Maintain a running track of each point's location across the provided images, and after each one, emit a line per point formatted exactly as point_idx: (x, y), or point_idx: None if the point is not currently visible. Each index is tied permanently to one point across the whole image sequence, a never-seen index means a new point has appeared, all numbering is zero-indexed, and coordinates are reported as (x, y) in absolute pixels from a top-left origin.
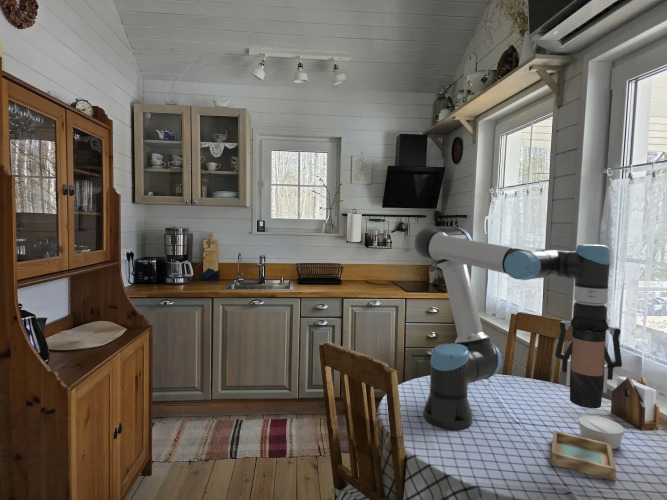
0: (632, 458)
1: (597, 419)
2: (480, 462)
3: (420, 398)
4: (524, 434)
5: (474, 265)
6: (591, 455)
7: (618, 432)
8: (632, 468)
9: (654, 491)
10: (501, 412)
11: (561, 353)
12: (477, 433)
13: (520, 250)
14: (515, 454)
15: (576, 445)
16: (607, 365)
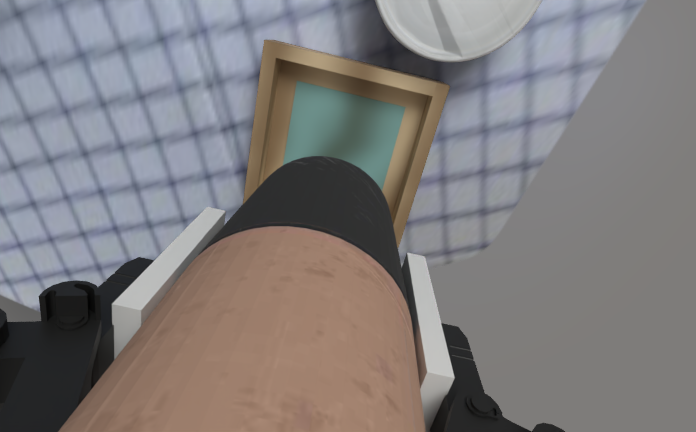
0: (508, 85)
1: None
2: (82, 245)
3: None
4: (179, 26)
5: None
6: (371, 134)
7: (503, 38)
8: (475, 151)
9: (475, 247)
10: None
11: (3, 373)
12: (31, 79)
13: None
14: (159, 178)
15: (341, 76)
16: (437, 429)
